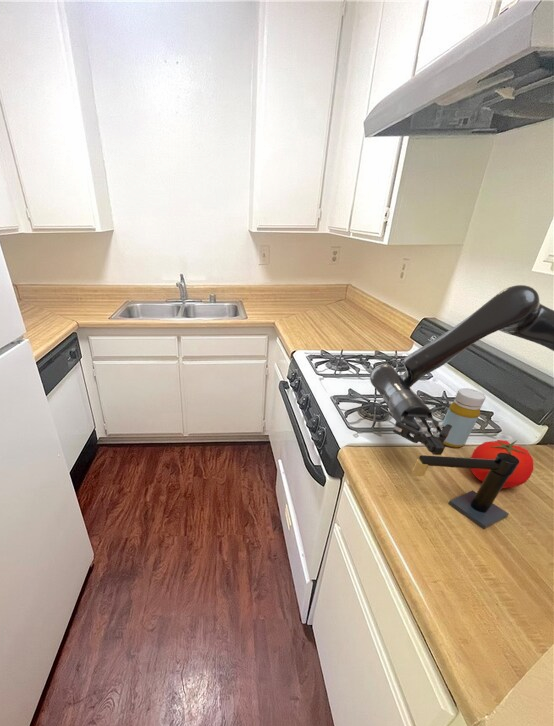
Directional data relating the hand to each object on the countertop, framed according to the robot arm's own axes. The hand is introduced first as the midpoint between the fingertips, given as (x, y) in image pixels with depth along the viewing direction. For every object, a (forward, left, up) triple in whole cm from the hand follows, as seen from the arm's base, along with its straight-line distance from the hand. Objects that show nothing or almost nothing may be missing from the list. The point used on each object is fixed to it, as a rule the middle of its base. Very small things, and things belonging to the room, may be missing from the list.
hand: (439, 451), depth 71 cm
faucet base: (-8, +9, -12) cm, 17 cm away
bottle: (-27, -11, -13) cm, 32 cm away
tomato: (-21, +4, -13) cm, 25 cm away
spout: (-1, +5, -3) cm, 6 cm away
